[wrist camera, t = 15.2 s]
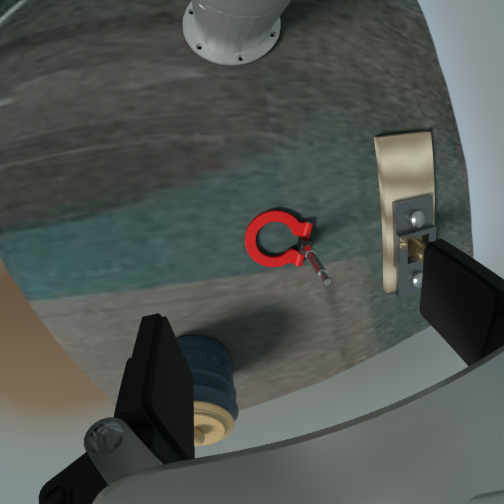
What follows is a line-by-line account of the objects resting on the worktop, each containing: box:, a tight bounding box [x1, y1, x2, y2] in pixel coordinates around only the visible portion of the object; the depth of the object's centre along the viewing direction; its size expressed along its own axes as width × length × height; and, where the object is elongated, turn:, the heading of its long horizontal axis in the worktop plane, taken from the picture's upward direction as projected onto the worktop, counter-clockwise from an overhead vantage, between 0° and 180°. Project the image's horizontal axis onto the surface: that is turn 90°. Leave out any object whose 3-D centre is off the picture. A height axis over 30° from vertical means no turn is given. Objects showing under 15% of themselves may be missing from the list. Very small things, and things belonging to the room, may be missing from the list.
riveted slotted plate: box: [392, 194, 436, 297], centre depth 46 cm, size 16×8×3 cm, turn 12°
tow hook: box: [245, 210, 331, 285], centre depth 40 cm, size 8×13×9 cm
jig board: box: [374, 131, 435, 293], centre depth 46 cm, size 26×10×2 cm, turn 12°
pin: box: [408, 237, 427, 264], centre depth 43 cm, size 3×3×10 cm
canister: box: [177, 336, 239, 446], centre depth 44 cm, size 13×13×18 cm
